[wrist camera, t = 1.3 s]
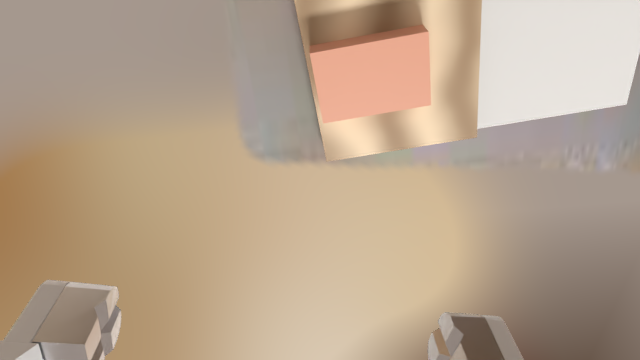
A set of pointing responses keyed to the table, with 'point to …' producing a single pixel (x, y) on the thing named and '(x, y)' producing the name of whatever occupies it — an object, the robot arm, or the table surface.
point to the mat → (555, 57)
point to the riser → (445, 71)
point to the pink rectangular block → (372, 73)
